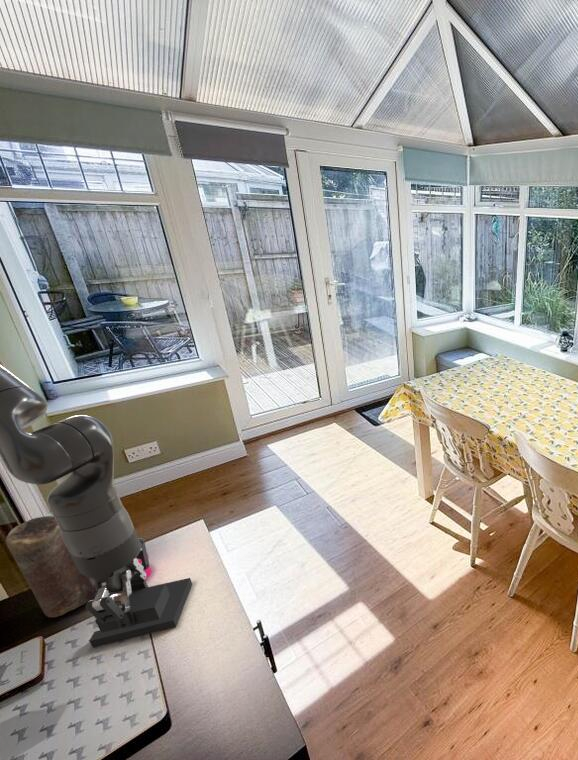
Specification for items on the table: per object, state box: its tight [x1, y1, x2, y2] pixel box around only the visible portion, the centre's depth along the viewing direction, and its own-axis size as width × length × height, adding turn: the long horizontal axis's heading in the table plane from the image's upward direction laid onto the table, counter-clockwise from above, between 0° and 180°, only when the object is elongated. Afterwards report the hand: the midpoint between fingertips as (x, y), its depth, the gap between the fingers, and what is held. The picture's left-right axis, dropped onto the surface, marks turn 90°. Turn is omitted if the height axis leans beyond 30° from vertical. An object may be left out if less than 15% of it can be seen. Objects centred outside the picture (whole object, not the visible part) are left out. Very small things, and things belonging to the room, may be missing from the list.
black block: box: [94, 583, 170, 633], centre depth 71 cm, size 8×5×3 cm, turn 110°
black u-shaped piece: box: [88, 577, 193, 649], centre depth 83 cm, size 13×10×2 cm
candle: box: [5, 515, 95, 618], centre depth 81 cm, size 8×7×20 cm
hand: (136, 610), depth 71 cm, fingers closed on black block, 5 cm apart
